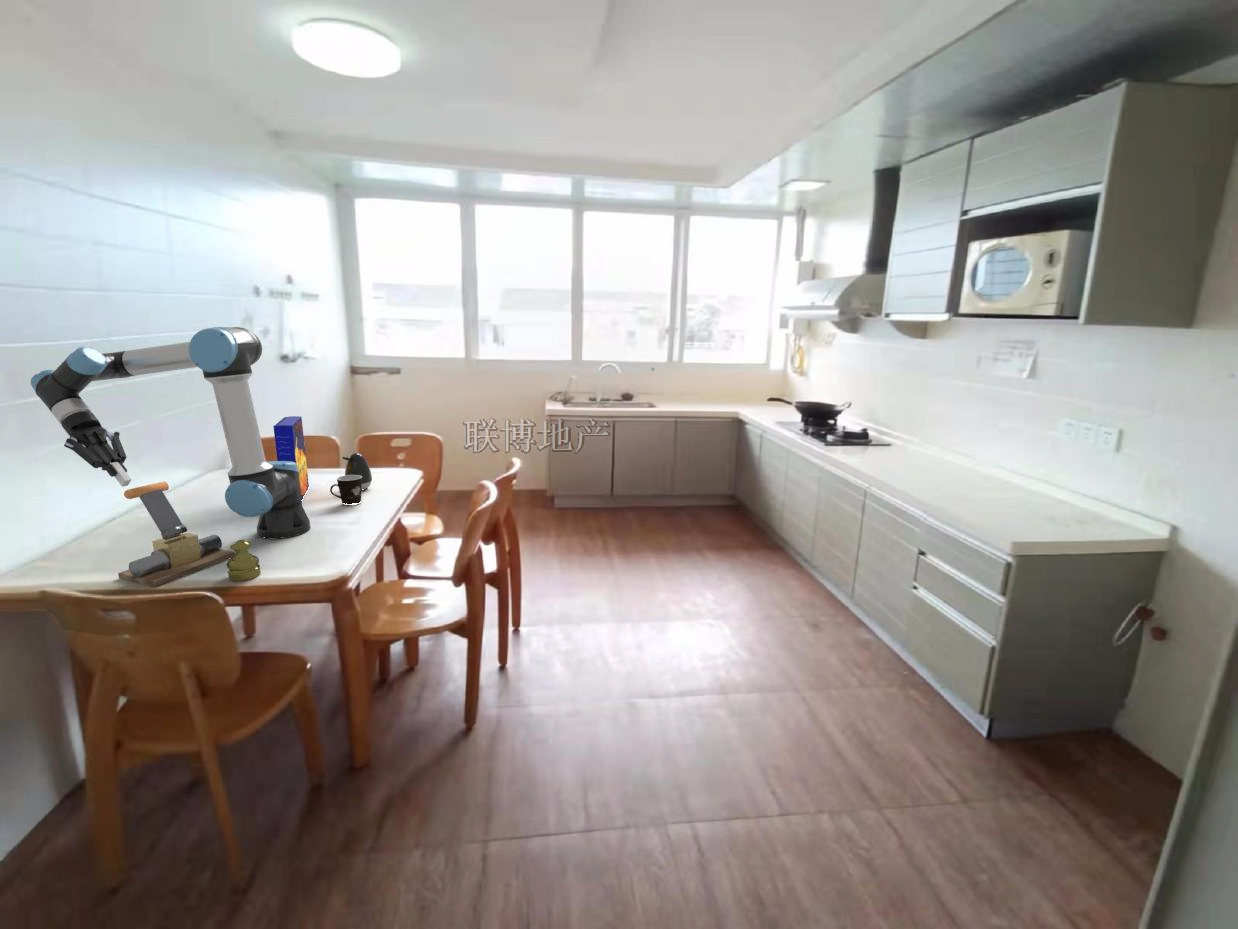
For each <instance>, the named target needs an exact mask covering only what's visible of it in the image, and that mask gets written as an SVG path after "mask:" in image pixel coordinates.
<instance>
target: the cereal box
mask: <svg viewBox="0 0 1238 929" xmlns="http://www.w3.org/2000/svg"><path fill="white" fill-rule="evenodd" d="M273 434H274V442H275V452H276V459H277V461H291V462H295V463H296V464H297V466H298V471H299V481H300V491H301V500H302V499H303V496H304V495H305V493H306V491H307V490H308V487H309V488H310V486H309V484H310V483H309V475H308V466H307V457H306V455H307V454H306V447H305V446H306V445H305V437H304V436H305V434H304V428H303V418H302V416H300V415H299V416H298V415H297V416H296V415H295V416H293V415H292V416H291V415H290V416H284V417H283V418H282V419H280V420H279V421H278V422H277V423H275V425H273Z"/></svg>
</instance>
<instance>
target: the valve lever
mask: <svg viewBox="0 0 1238 929" xmlns="http://www.w3.org/2000/svg"><path fill="white" fill-rule="evenodd" d="M166 491H169V483H168V482H167V481H159V482H155V483H149V484H146V485H143V486H136V487H134V488H129V489H126V490H125V491H124V492H123V496H124V498H126V499H128V500H133V499H137V498H139V499H140V501H141V503H142V504H143V506H144V508H145V509H146V510H147V512H148V514H149V516H150V517H151V518H152V520H153V522H154V524H155V525H156V527H157V528H158V529H159V532H160V535H161V537H162V538H163V539H164V540H168V539H171V538H174V537H178V536H181V535H184V534H186V533H188V529H187V528H188V527H186V525H185V524H183V522H182V521H181V519H180V518H179V516H178V514H177V513H176V511H175V509H174V507H173V506H172V505H171V503H170V501H169V500H168V498H167V496H166V495H165V493H164V492H166Z"/></svg>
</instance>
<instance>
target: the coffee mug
mask: <svg viewBox="0 0 1238 929" xmlns="http://www.w3.org/2000/svg"><path fill="white" fill-rule="evenodd" d="M336 482H337V484H336V483H334V484H333V485H331V487H330V489H329V492H330V494H332V495H333V496H334V497H336V498H339V499H340V500H341V504H342V503H345V504H346V503H347V504H352V503H359V502H360V501H361V502H362V491H361V490H362V476H360V475H345V474H344V475H340V476H338V477H337V478H336ZM336 486H337V487H338V490H339V495H340V496H339V495H337V494H335V493H334V492H333V488H334V487H336Z"/></svg>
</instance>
